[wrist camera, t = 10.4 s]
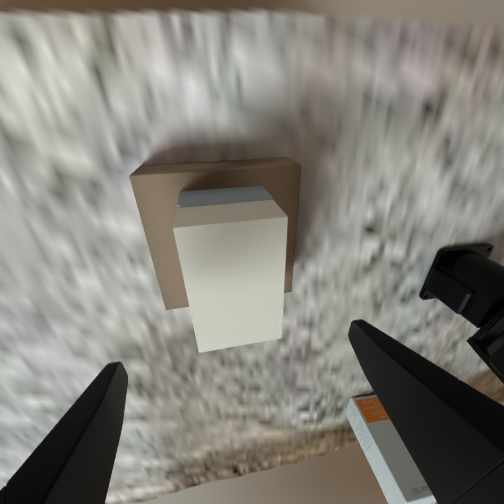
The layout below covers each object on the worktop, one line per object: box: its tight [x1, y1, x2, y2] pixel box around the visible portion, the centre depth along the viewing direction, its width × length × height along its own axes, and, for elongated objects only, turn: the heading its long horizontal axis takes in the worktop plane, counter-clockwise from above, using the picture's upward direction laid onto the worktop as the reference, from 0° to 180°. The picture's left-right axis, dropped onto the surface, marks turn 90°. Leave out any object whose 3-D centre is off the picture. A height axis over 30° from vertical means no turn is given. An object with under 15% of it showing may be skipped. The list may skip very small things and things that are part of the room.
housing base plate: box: [177, 186, 273, 208], centre depth 16 cm, size 5×8×2 cm, turn 1°
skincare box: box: [345, 395, 437, 504], centre depth 34 cm, size 6×4×12 cm
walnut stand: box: [129, 158, 301, 310], centre depth 18 cm, size 10×10×3 cm
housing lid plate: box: [173, 200, 288, 353], centre depth 13 cm, size 5×8×2 cm, turn 1°
